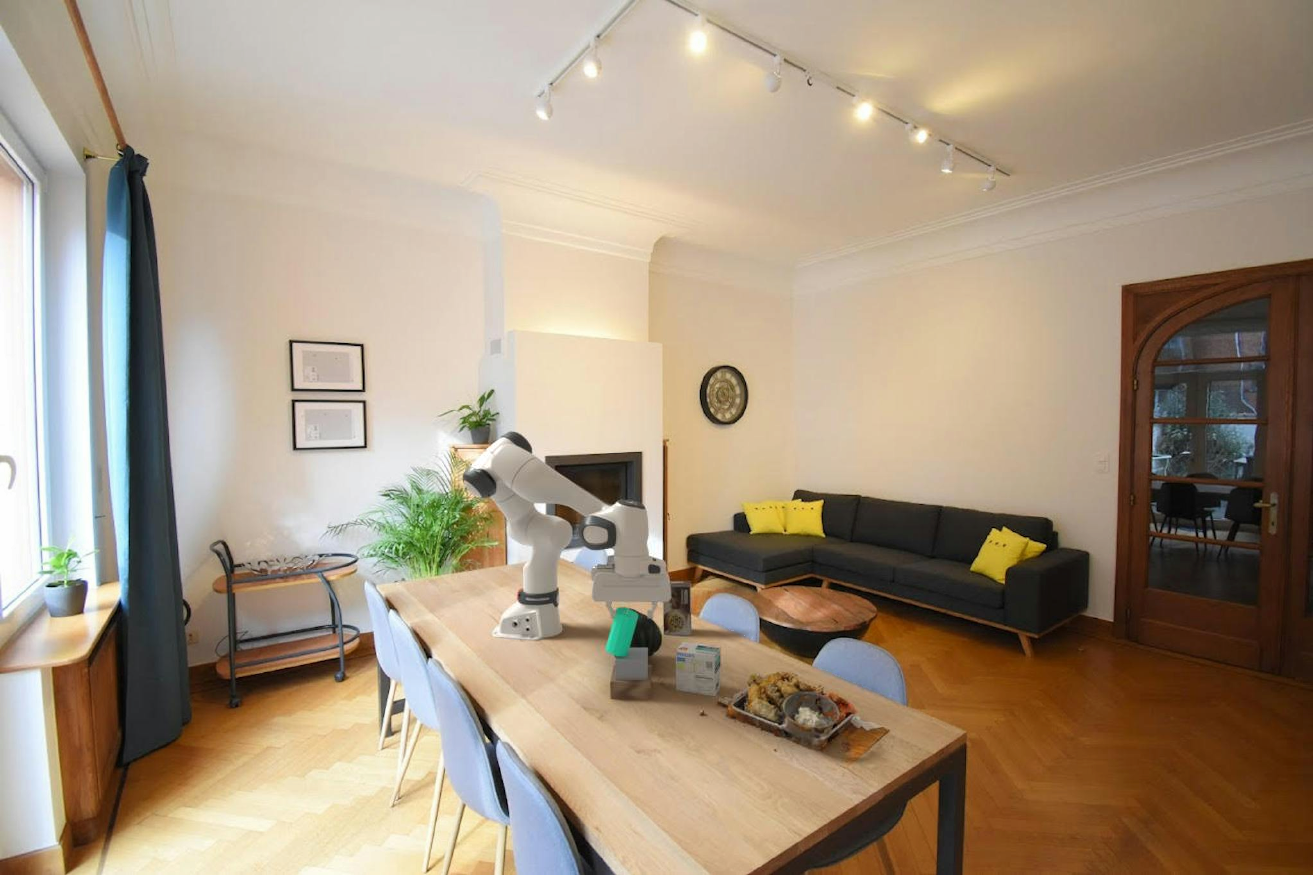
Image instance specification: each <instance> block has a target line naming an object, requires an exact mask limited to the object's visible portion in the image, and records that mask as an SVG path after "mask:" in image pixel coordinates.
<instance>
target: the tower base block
mask: <svg viewBox="0 0 1313 875" xmlns="http://www.w3.org/2000/svg"><path fill="white" fill-rule="evenodd" d="M652 666H653V665H651V664H648V679H647V680H615V664H614V665H613V667H612V668H613V669H612V671H611V672H612V673H611V677H610V683H609V686H610V687H609V690H610V692H609V693H610V694H609V695H610V696H609V697H610V700H651V699H652V684H653V679H652V675H653V673H652V672H653V670H652V668H653V667H652Z"/></svg>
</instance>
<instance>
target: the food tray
mask: <svg viewBox="0 0 1313 875" xmlns="http://www.w3.org/2000/svg"><path fill="white" fill-rule="evenodd" d="M746 684H747V687H746V688H745V689H744V690H740V691H739V692H737V693H735V694H732V695H731V697H732V698H730V697H727V696H725V697H724V698H723V697H722V696H721V697H720V698H719V699H718V700H717V704H716V706H718V707H720V708H724V709H725V708H726V709H727V711H726V712H725V713H724V714H725V717H727V718H734V719H735V720H734V721H733V723H737V721H739V722H740V723H743V724H746V725H749V726H753V727H755V728H757V729H760V731H761V732H763V731H764V732H766V733H773V734H772V735H773V736H774V737H776V738H782V739H783V738H784V739H785V738H786V740H787V741H789V742H792V743H793V744H796V745H800V746H802V747H805V748H807V749H811V750H815V751H821V752H824V751H825V750H828V748H831V747H833V744H838V742H839V741H841V742H842V743H841V744H840V747H842V749H841V751H842V752H844V753H846V755H845V757H842V758H844V759H841V761H843V762H844V763H845V764H847V765H849V766H850V765H852V764H853V763H854V762H856V761H857V760H858V759H859V758H860V757H861V756H862V755H863V754H865V752H866V751H868V750H869V749H870V748H871V747H872V746H873V745H874V744H875V743H876V742H877V741H878V740H880V739H881V738H882V737H883V736H884V735H885V734H887V732H888V731H890V729H889V728H886V727H884V726H881V725H879V724H877V723H875V722H871V721H865V720H862V719H861V717H860V715H858V716H857V715H856V714H857V713H858V710H856V708H855V705H854V704H853V703H852V702H850V701H848V700H847V699H846V698H845V697H844V696H842V695H841V694H839V693H837V692H835V691H834V690H831V691H828V692H824V685H823V684H818V685H814V686H813V684H811V683H810V682H808V681H807V680H805V679H804V678H803V677H801V676H800V675H798V674H797V673H795V672H794V671H792V670H789V671H788V670H787V669H786V668H785V669H782V670H781V672H780V671H777V672H774V673H771V674H766V675H765V676H764V677H763V675H762V674H761V673H752V674H749V678H748V679H747V681H746ZM699 712H700V714H699V715H700V716H702V715H704V713H705V710H703V708H701V709H700V710H699ZM855 715H856V716H855ZM746 725H744V726H743V727H744V728H745V727H746ZM839 736H840V737H839ZM827 747H828V748H827ZM773 750H774V752H778V750H777V748H774V749H773ZM843 762H840V763H843ZM849 766H843V769H847V768H849Z"/></svg>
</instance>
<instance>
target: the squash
mask: <svg viewBox="0 0 1313 875" xmlns="http://www.w3.org/2000/svg"><path fill="white" fill-rule="evenodd" d="M628 608H629V609H631V610H633V611H634V612H636V613H637V614H638V619H637V623H636V626H635V630H634V633H633V637H632V641H631V644H630V648H648V658H651V657H652V656H653V655H654V654H655V653H657V652H658V651H659V650H660V648H661V646H662V644H663V643H662V642H663V634H662V631H661V629H660V626H658V624H657V623H656V621H655V620H654V619H647V616H648V615H646V614H645V613H643V612H640V611H638V610H637V609H634V608H631V607H628ZM613 656H614V658H615V659H616V656H615V655H613Z"/></svg>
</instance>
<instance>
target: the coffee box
mask: <svg viewBox="0 0 1313 875" xmlns="http://www.w3.org/2000/svg"><path fill="white" fill-rule="evenodd" d="M691 582H692V581H688V580H685V581H684V580H680V581H679V580H670V585H671V599H670V600H669V601H668V602H662V608H663V609H662V611H663V612H662V615H663V616H662V617H663V620H662V622H663V625H662V626H663V628H662V630H663V634H664V636H691V635H692V632H693V631H692V593H691V592H692V584H691ZM663 634H662V635H663Z"/></svg>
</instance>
